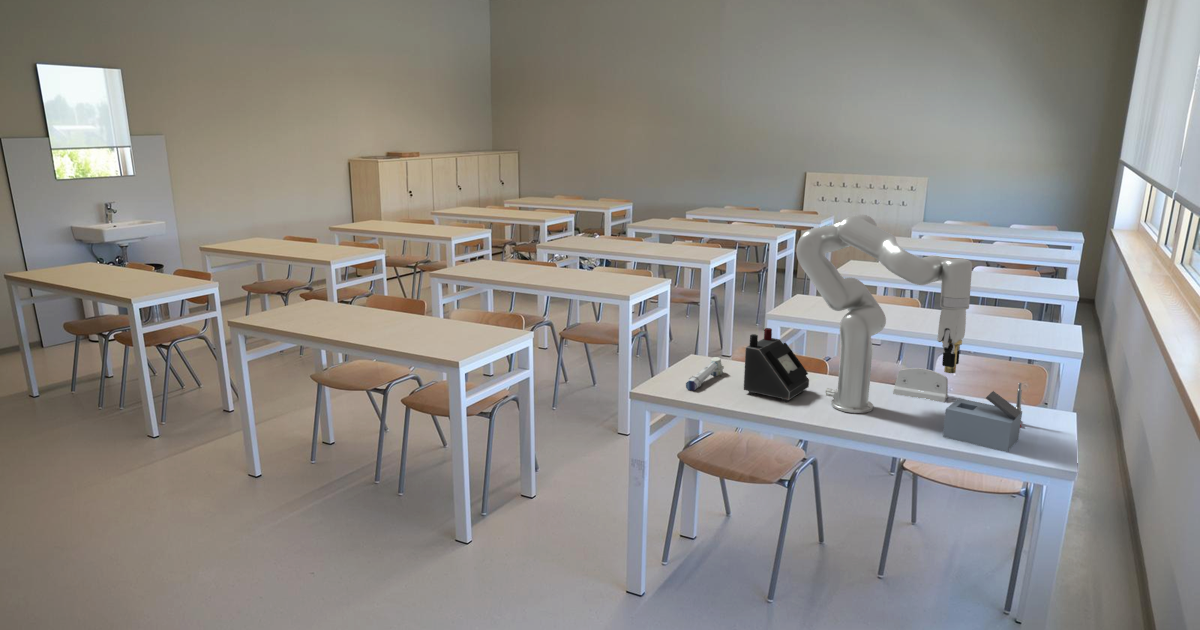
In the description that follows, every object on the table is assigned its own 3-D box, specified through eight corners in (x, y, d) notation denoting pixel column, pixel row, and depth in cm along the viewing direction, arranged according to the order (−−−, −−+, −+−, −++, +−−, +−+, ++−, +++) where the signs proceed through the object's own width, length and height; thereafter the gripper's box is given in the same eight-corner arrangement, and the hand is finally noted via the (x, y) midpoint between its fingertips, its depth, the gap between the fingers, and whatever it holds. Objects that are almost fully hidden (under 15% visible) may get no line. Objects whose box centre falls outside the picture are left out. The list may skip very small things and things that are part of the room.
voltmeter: (789, 404, 248) (793, 344, 244) (743, 393, 258) (746, 336, 253) (809, 391, 261) (813, 334, 256) (764, 381, 270) (767, 326, 266)
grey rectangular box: (942, 436, 221) (945, 408, 220) (955, 425, 230) (958, 398, 228) (1007, 452, 211) (1011, 423, 209) (1018, 439, 220) (1022, 411, 218)
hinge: (891, 393, 258) (896, 364, 259) (894, 394, 262) (898, 365, 263) (945, 402, 250) (950, 372, 250) (947, 403, 254) (951, 373, 254)
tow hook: (987, 426, 231) (1022, 429, 227) (989, 385, 228) (1025, 387, 225) (984, 417, 238) (1018, 419, 235) (987, 377, 236) (1021, 379, 232)
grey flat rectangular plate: (985, 398, 215) (987, 396, 214) (991, 392, 219) (993, 390, 219) (1014, 420, 211) (1016, 418, 211) (1019, 414, 215) (1021, 412, 215)
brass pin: (937, 372, 223) (939, 340, 221) (943, 368, 226) (945, 336, 224) (956, 375, 219) (958, 342, 217) (962, 371, 223) (964, 339, 221)
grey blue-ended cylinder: (683, 379, 261) (712, 352, 281) (684, 396, 264) (712, 368, 283) (697, 381, 259) (725, 354, 279) (698, 399, 261) (726, 371, 281)
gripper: (950, 296, 227) (945, 357, 231) (931, 305, 215) (927, 369, 219) (977, 299, 222) (972, 360, 226) (959, 308, 210) (955, 373, 214)
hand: (950, 364), depth 222 cm, fingers closed on brass pin, 3 cm apart
